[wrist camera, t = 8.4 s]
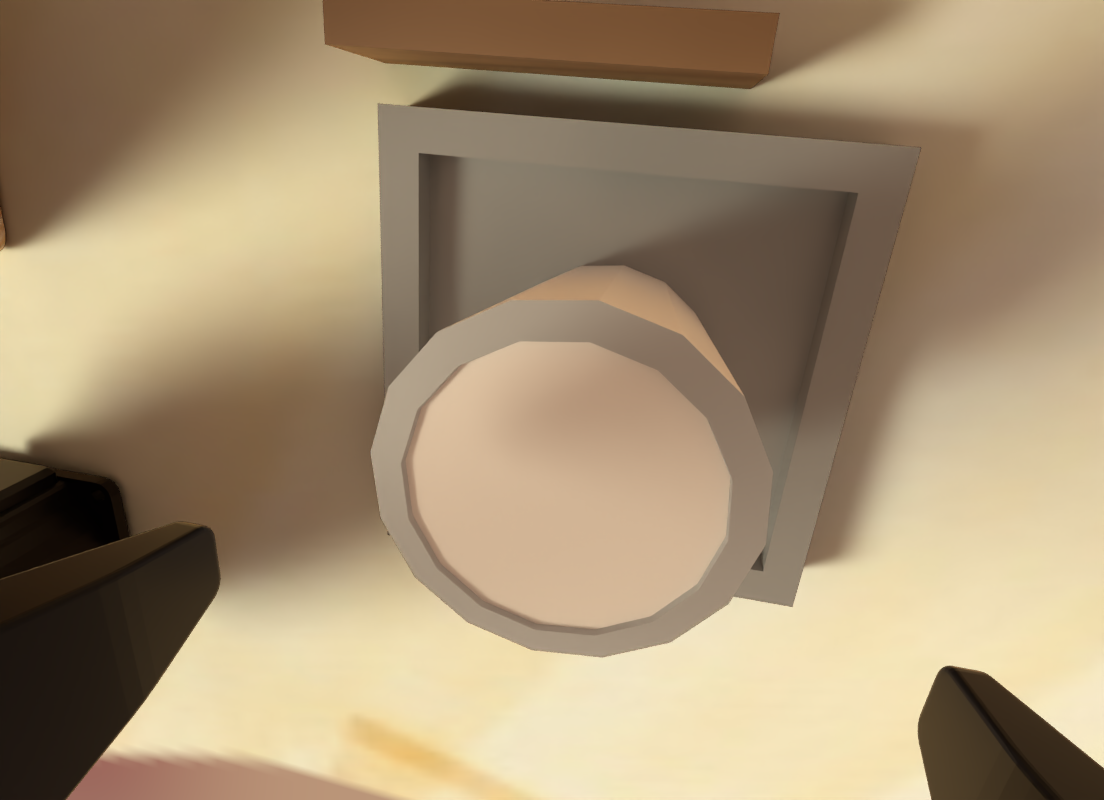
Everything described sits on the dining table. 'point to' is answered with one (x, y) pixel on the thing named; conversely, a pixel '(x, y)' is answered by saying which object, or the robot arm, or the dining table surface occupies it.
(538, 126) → the tray
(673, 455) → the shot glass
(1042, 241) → the dining table surface
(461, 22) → the wooden pieces
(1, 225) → the decorative jar
